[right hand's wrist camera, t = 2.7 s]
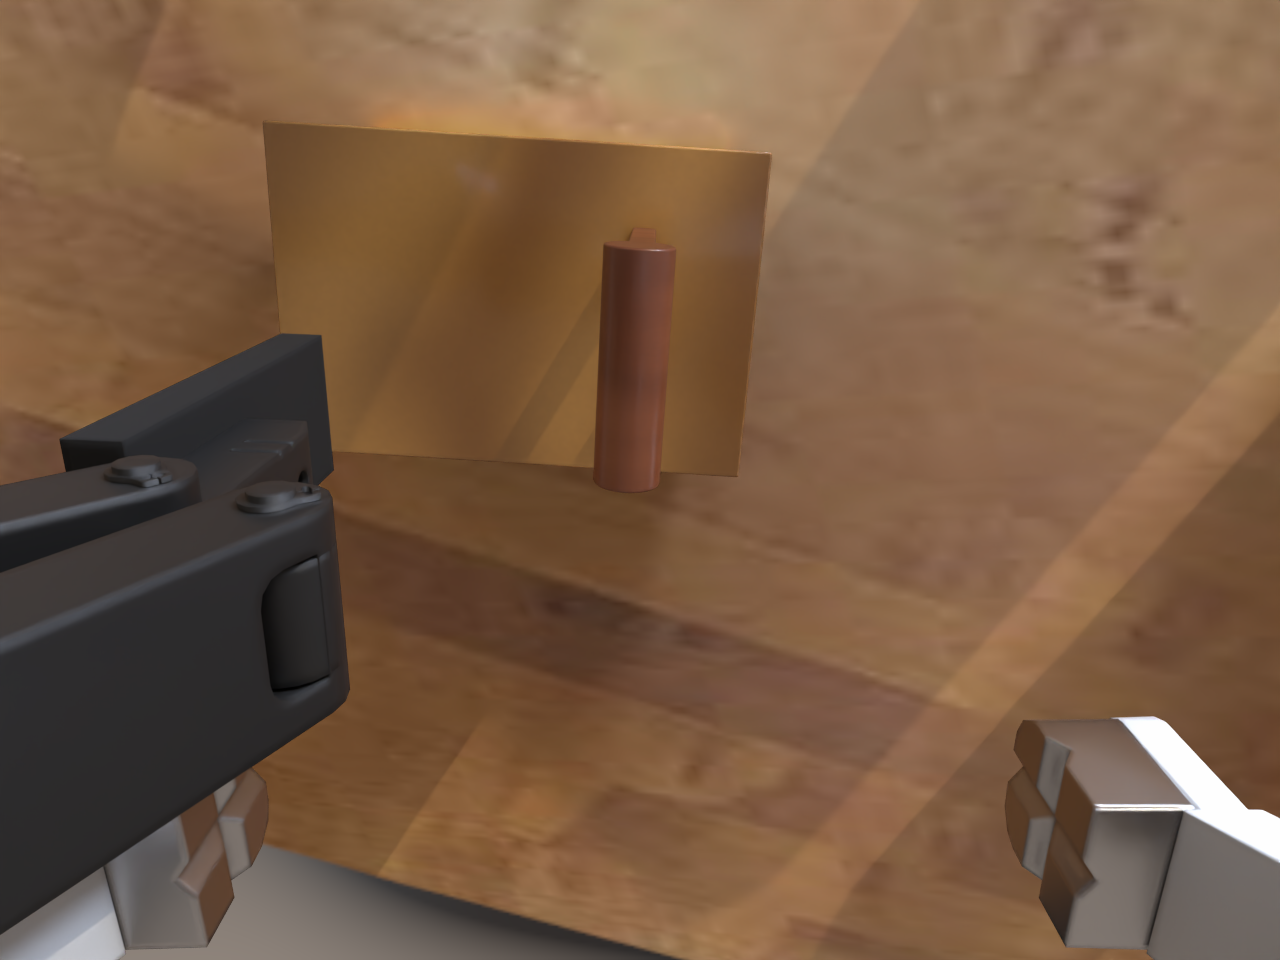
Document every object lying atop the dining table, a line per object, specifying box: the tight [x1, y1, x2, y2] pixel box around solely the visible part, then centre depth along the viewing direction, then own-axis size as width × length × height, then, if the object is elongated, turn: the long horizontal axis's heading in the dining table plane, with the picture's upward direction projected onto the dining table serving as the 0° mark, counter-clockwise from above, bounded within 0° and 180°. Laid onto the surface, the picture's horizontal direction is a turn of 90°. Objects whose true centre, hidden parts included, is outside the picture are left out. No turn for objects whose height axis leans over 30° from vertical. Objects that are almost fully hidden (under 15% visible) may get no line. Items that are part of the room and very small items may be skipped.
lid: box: [263, 120, 772, 493], centre depth 24 cm, size 14×10×8 cm
